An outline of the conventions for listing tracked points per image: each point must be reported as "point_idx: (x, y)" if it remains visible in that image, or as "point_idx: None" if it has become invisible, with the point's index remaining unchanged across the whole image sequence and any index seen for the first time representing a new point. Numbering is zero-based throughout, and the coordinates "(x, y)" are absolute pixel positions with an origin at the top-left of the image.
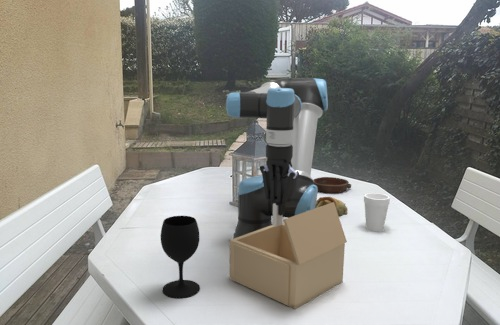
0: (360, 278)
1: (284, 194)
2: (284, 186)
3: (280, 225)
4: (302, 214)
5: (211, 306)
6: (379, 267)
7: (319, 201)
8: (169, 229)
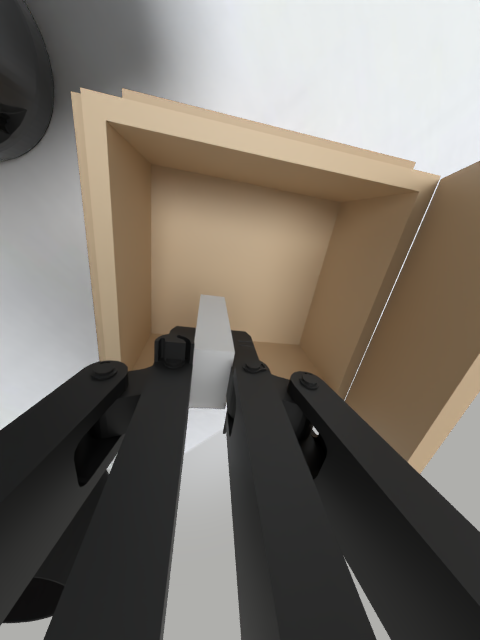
0: (384, 144)
1: (322, 500)
2: (322, 564)
3: (108, 126)
4: (427, 453)
5: (193, 412)
6: (431, 6)
7: None
8: (51, 602)
